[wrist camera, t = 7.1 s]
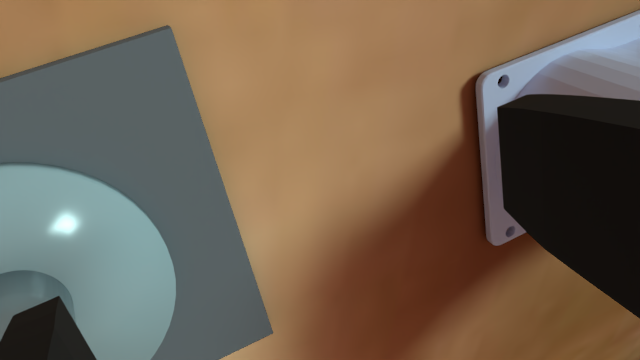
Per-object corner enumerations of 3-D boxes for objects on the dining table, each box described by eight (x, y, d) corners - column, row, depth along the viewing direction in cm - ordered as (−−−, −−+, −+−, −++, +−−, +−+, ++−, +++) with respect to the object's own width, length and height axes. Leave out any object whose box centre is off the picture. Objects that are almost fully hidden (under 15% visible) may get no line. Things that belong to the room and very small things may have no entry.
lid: (106, 112, 17) (126, 163, 14) (208, 338, 22) (240, 414, 19) (-262, 249, 15) (-337, 347, 12) (-58, 469, 19) (-73, 580, 16)
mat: (168, 25, 17) (171, 27, 17) (269, 326, 23) (273, 333, 23) (-435, 216, 13) (-446, 225, 13) (-126, 515, 20) (-128, 526, 19)
